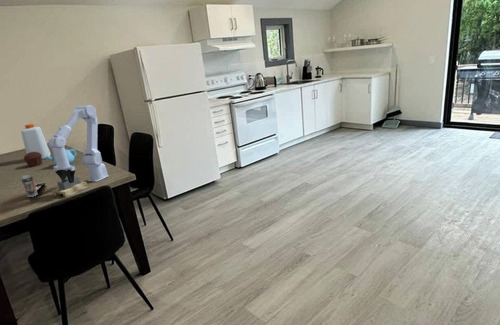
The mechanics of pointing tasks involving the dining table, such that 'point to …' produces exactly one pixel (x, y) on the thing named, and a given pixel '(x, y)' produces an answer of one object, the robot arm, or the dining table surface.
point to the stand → (70, 189)
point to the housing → (67, 183)
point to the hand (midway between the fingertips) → (68, 182)
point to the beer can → (29, 186)
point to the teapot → (69, 156)
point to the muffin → (33, 159)
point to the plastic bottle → (35, 140)
